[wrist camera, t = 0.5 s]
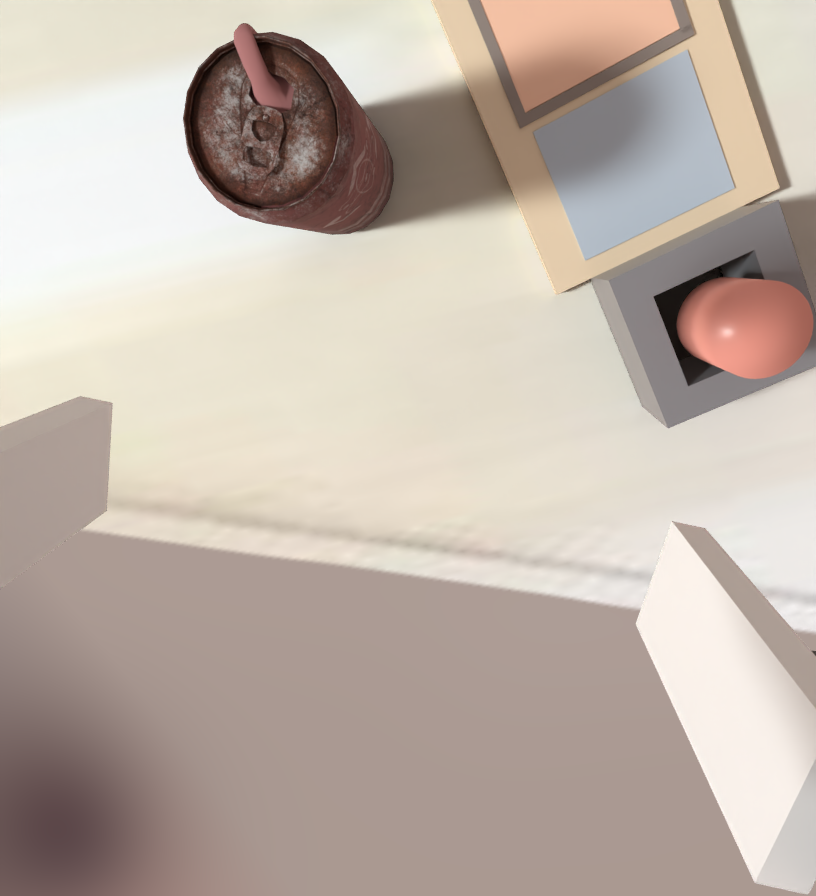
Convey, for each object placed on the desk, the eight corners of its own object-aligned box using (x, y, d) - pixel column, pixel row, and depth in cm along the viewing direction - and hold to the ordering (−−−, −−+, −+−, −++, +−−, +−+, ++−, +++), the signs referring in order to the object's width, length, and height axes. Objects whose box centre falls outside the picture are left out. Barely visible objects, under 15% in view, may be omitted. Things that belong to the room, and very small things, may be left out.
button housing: (589, 277, 35) (608, 280, 31) (734, 207, 34) (778, 199, 29) (642, 406, 37) (667, 428, 32) (782, 346, 36) (831, 359, 31)
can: (369, 89, 34) (304, -21, 20) (410, 211, 35) (375, 182, 22) (264, 134, 35) (139, 58, 21) (308, 250, 36) (217, 246, 23)
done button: (664, 300, 31) (696, 307, 26) (748, 261, 30) (795, 262, 26) (693, 375, 32) (729, 394, 27) (775, 340, 31) (826, 353, 26)
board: (376, -128, 31) (373, -140, 30) (615, -286, 29) (620, -303, 28) (555, 293, 36) (557, 294, 35) (772, 189, 33) (781, 187, 32)
